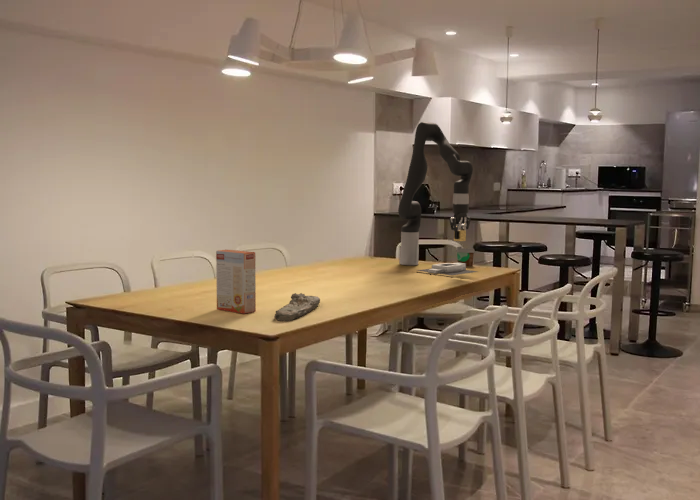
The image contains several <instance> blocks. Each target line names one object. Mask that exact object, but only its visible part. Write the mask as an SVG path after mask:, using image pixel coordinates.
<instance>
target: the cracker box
mask: <svg viewBox="0 0 700 500" xmlns="http://www.w3.org/2000/svg"><path fill="white" fill-rule="evenodd" d="M215 253H216V254H215V255H216V256H215V257H216V258H215V263H216V269H215V270H216V310H219V311H225V312H232V313H236V314H241V315H245V314H250V313H251V314H252V313H256V309H257V308H256V300H257V299H256V297H257V296H256V294H257V293H256V288H257V285H256V252H255V251H247V250H246V251H245V250H236V249H218V250H216V252H215Z"/></svg>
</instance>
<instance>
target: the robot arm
mask: <svg viewBox="0 0 700 500" xmlns="http://www.w3.org/2000/svg"><path fill="white" fill-rule="evenodd" d="M413 141H414V142H413V150H412V154H411V159H410V163H409V166H408V171H407V177H406V181H405V185H404V189H403V192H402V195H401V198H400V201H399V205H398V210H397V211H398V212H397V214H398V217H399V219H403V220H407V222H406V223H405V224H404V225H402V226H401V227H400V231H401V232H400V237H401V238H400V245H399V257H398V258H399V265H403V266H417V265H419V249H420V247H419V245H420V244H419V242H420V227H421V223H422V222H421V221H422V220H421V219H422V207H421V204H420V203H419V201H415V200H413V198H415V197H414V196H415V195H416V193H417V192H418V190H419V189H420V188H421V186H422V184H423V183H424V181H425V180H426V177H427V171H428V161H427V158H426V156H425V145H426V142H433V143H434V144H436V145H437V147H438V152H439V155H440V157H441V158H442V159H443V160H444V161H445V162H446V164H447V166H448V168H449V170H450V173H451V174H452V175H454V176H456V177H460V178H459V180H456V181H455V182H454V183H453V195H452V213H453V217H450V218H449V220H448V221H449V223H450V228H451V230H452V231H453V239H454V238H455V239H459V230H466V231H467V230H469V227H470V223H471V220H472V219H471V218H472V217H470V216H468V215H467V214H468V213H469V208H470V207H469V206H470V205H469V204H470V203H469V202H470V198H469V193H470V192H469V190H470V187H469V185H470V182H471V179H472V176H473V171H474V168H473V164H472V162H471V161H468V160H461V155H460V154H459V152H458V151H457V150H456V149H455V148H454V147H453V146H452V145H451V144H450V142H449V141H448V139H447V137H446V136H445V134H444V132H443V131H442V128H441V127H440V126H439V124H437V123H435V122H430V121H428V122H427V121H421V122H419V123H418V125H417V126H416V130H415V134H414V140H413Z"/></svg>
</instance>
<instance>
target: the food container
mask: <svg viewBox="0 0 700 500" xmlns="http://www.w3.org/2000/svg"><path fill="white" fill-rule="evenodd" d="M455 252H456V257H457V259H456V260H457V263H465V264H466V267H473V265H474V254H475V248H469V247H468V248H463V247H462V246H460V245H459V246H456V249H455Z"/></svg>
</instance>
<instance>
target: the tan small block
mask: <svg viewBox="0 0 700 500" xmlns="http://www.w3.org/2000/svg"><path fill="white" fill-rule="evenodd" d="M466 235H467V229H466V230H461V229H459V239H455V238H454V237H453V241H454V242H466V238H467V236H466Z"/></svg>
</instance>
